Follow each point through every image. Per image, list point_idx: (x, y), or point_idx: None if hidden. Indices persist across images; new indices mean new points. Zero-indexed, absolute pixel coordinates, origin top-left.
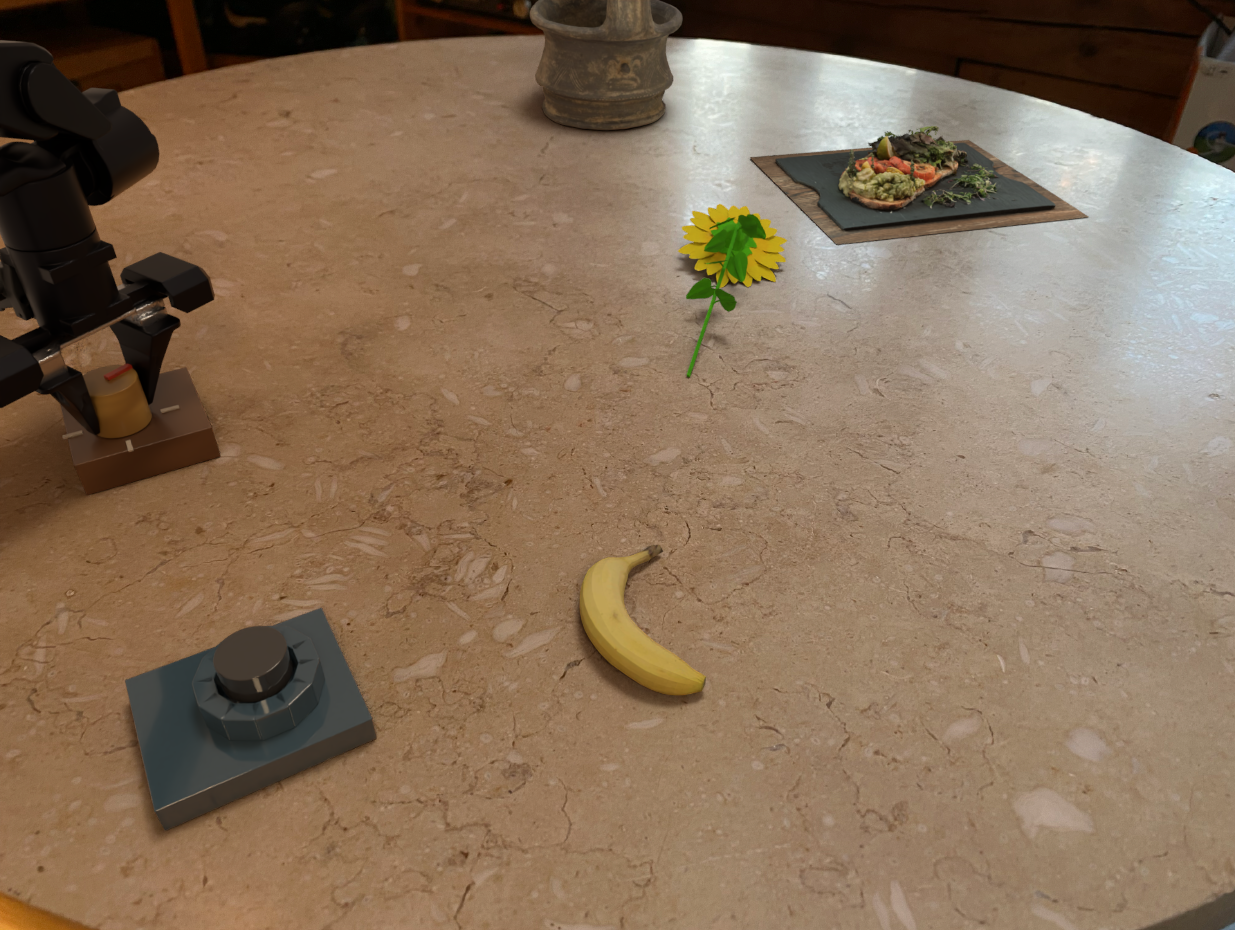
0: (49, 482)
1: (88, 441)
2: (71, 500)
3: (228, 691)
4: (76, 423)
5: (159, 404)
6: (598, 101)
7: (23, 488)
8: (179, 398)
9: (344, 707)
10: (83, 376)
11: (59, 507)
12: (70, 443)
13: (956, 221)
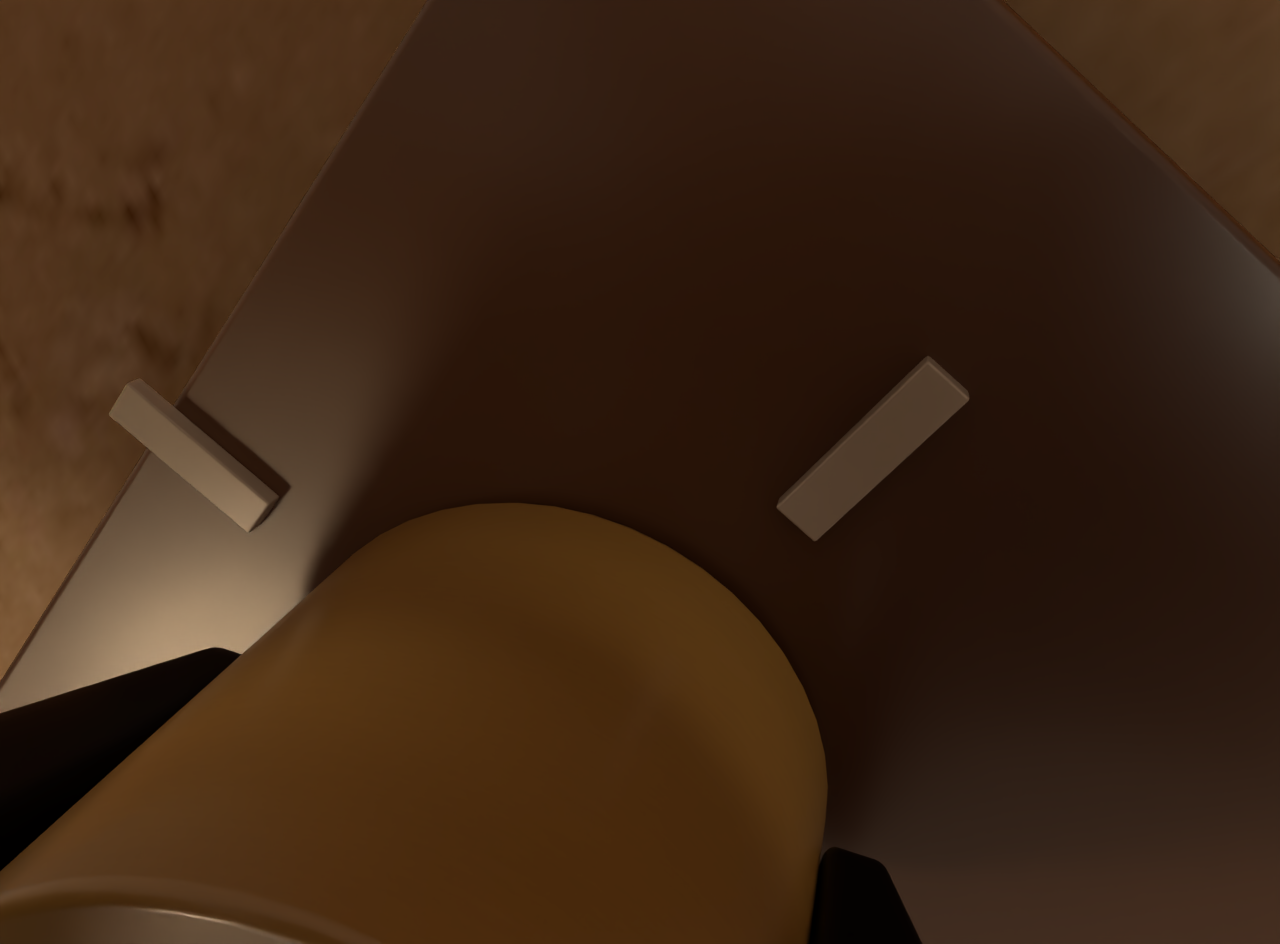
0: (140, 234)
1: (213, 639)
2: (111, 503)
3: None
4: (346, 342)
5: (930, 915)
6: None
7: (11, 104)
8: None
9: None
10: (155, 933)
11: (38, 479)
12: (121, 509)
13: None
